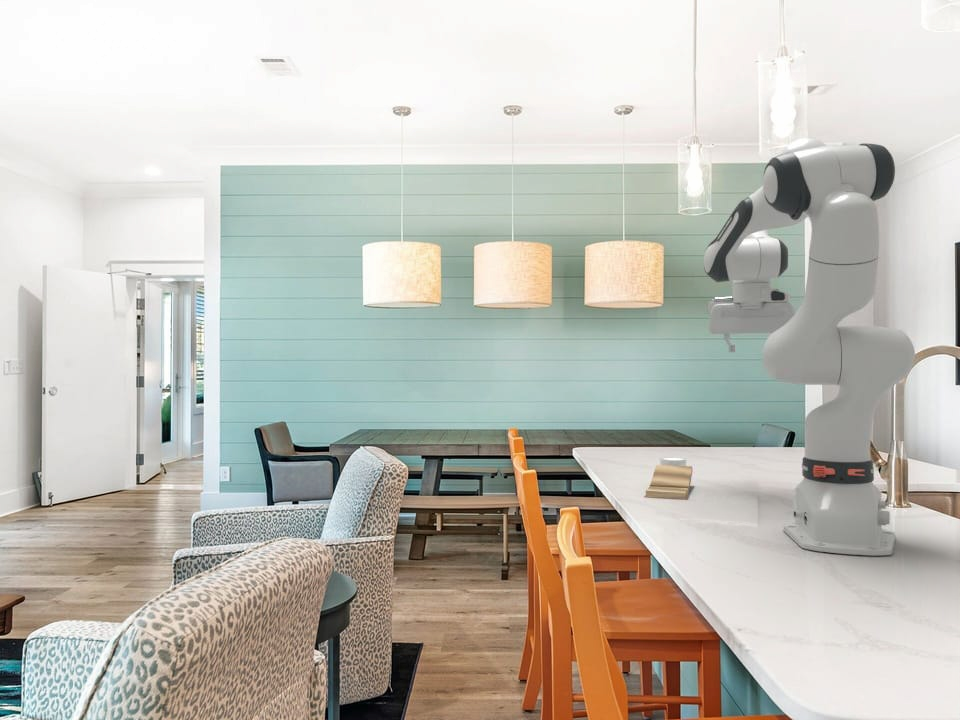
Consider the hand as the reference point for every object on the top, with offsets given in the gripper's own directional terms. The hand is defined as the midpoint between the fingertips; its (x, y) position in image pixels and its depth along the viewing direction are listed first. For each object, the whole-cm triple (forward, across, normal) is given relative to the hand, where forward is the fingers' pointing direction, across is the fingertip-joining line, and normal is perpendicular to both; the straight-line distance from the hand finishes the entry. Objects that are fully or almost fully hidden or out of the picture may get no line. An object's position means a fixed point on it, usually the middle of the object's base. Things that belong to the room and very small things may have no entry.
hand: (752, 352), depth 179 cm
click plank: (+32, -19, -6) cm, 38 cm away
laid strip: (+34, -19, -16) cm, 42 cm away
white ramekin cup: (+36, -20, +7) cm, 41 cm away
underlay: (+35, -19, -9) cm, 41 cm away
